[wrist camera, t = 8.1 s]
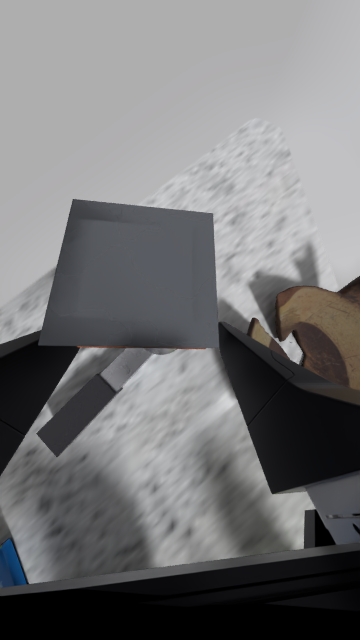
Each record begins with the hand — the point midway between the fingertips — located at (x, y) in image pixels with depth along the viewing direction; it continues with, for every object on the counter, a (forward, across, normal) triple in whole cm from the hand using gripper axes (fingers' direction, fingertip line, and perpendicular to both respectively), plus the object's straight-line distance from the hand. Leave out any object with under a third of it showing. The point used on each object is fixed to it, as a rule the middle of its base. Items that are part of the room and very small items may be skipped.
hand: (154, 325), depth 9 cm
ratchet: (+5, +5, +11) cm, 13 cm away
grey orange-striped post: (+6, 0, +5) cm, 8 cm away
